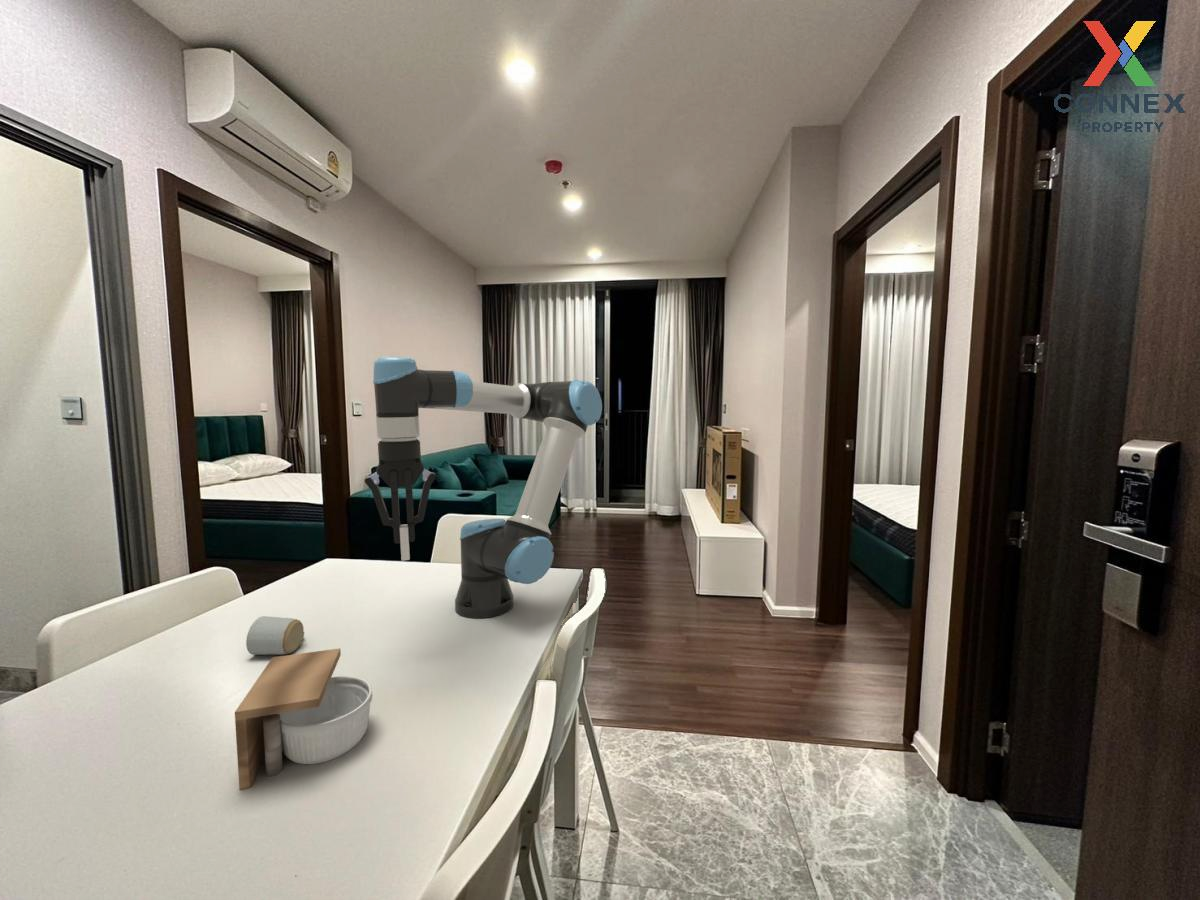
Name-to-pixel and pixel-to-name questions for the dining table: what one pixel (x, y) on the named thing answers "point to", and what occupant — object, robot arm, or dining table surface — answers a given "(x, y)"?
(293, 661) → the walnut shelf
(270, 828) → the dining table surface
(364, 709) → the ramekin
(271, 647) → the ceramic mug
